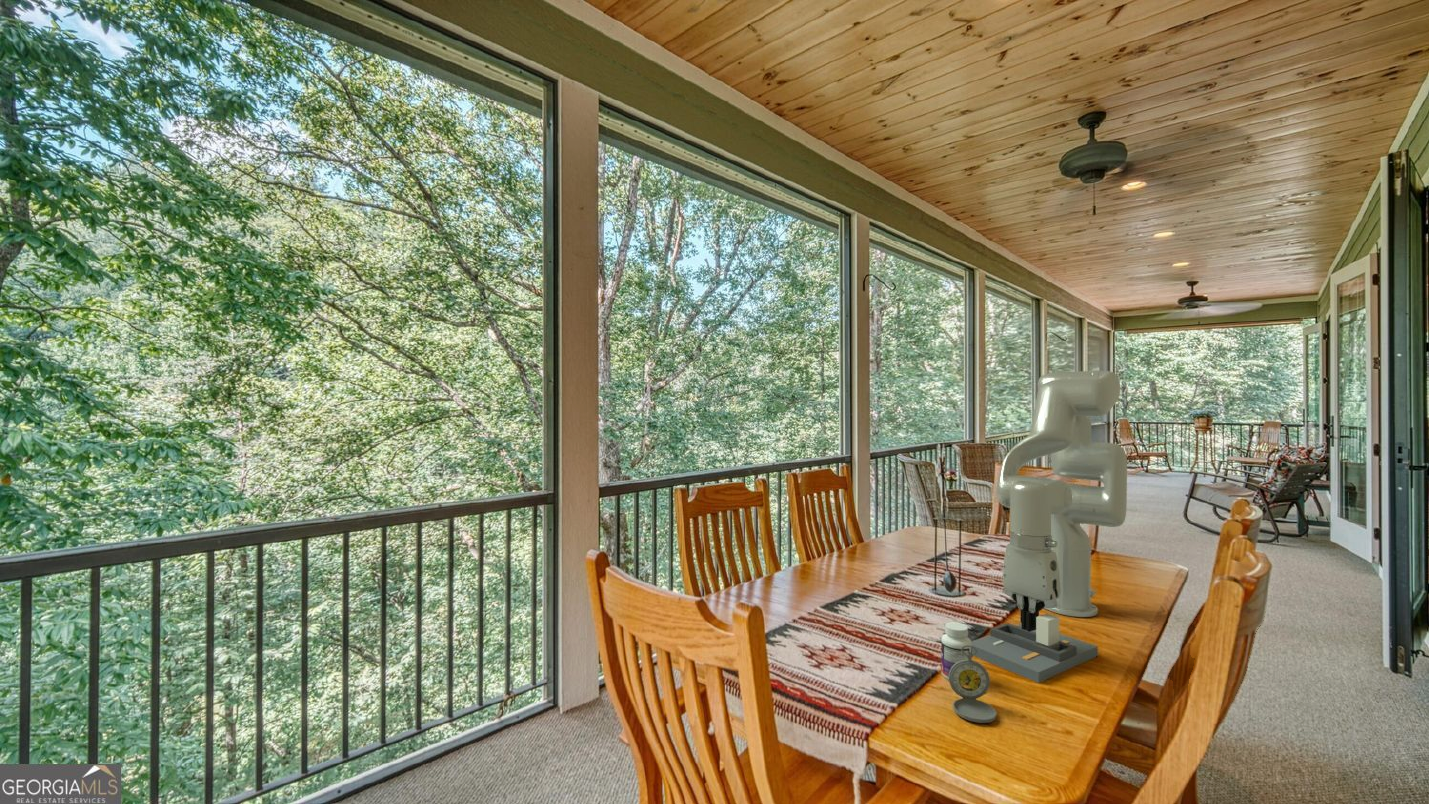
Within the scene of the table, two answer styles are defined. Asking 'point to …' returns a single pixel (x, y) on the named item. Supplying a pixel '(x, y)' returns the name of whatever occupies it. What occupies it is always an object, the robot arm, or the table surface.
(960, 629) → the pill bottle
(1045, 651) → the console
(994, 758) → the table surface
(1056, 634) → the fader
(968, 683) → the pocket watch
